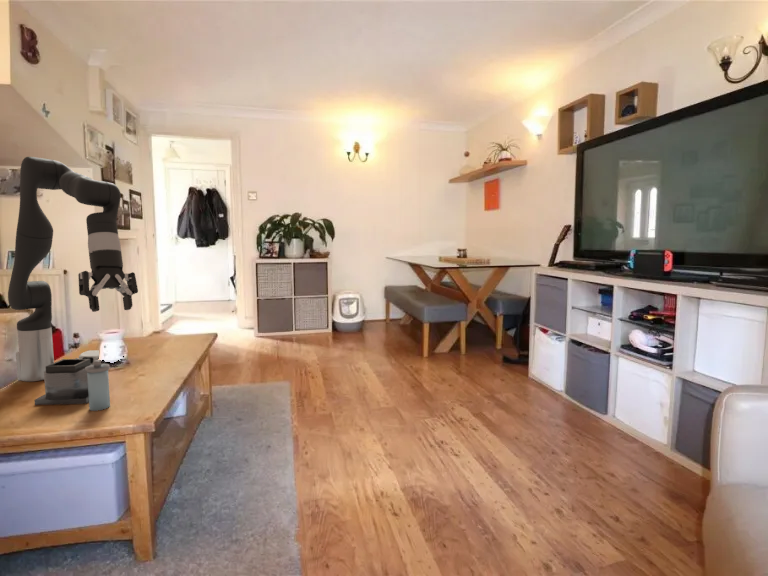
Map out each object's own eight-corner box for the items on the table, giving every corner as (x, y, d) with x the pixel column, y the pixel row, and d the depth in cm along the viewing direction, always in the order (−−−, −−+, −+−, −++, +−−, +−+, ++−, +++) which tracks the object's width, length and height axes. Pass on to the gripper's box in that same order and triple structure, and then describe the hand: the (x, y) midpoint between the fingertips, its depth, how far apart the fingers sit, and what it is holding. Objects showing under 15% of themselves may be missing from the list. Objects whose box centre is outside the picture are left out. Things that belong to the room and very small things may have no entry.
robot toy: (128, 360, 180) (86, 359, 176) (128, 349, 180) (86, 348, 176) (118, 368, 168) (73, 368, 164) (119, 357, 168) (73, 356, 164)
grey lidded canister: (83, 411, 124) (80, 363, 122) (94, 404, 129) (91, 358, 128) (105, 411, 124) (102, 363, 123) (115, 403, 130) (113, 358, 129)
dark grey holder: (32, 406, 127) (29, 368, 126) (62, 389, 141) (60, 356, 140) (84, 404, 129) (82, 367, 128) (109, 388, 143) (107, 355, 141)
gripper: (122, 256, 129) (129, 311, 127) (69, 253, 116) (75, 314, 115) (138, 250, 125) (145, 307, 124) (85, 246, 113) (92, 309, 111)
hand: (112, 310), depth 119 cm, fingers open, 8 cm apart
